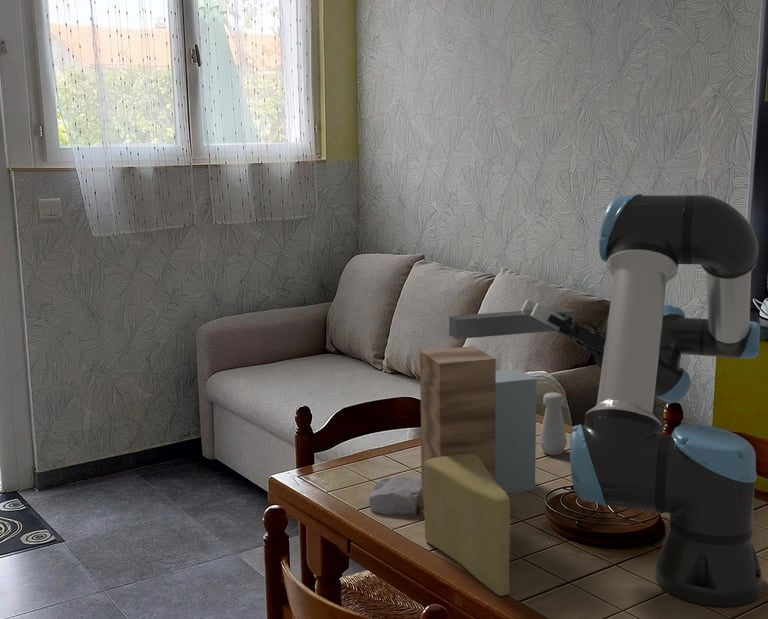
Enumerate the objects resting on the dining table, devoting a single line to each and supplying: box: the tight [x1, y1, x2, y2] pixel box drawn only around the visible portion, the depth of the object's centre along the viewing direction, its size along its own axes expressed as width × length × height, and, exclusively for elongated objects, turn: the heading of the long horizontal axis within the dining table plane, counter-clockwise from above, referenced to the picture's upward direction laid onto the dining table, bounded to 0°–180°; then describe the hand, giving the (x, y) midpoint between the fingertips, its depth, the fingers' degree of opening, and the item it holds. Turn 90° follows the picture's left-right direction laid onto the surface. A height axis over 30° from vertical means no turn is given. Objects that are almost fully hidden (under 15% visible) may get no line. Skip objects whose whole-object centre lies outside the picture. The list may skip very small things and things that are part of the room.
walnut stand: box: [417, 345, 497, 520], centre depth 158 cm, size 11×11×30 cm
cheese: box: [424, 454, 511, 597], centre depth 143 cm, size 22×10×15 cm, turn 17°
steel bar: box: [448, 307, 575, 340], centre depth 171 cm, size 4×24×4 cm, turn 107°
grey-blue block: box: [495, 368, 537, 495], centre depth 174 cm, size 8×14×22 cm, turn 107°
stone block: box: [368, 475, 422, 516], centre depth 169 cm, size 12×5×10 cm
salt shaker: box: [538, 392, 568, 457], centre depth 193 cm, size 6×6×13 cm
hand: (529, 307), depth 172 cm, fingers closed on steel bar, 4 cm apart
